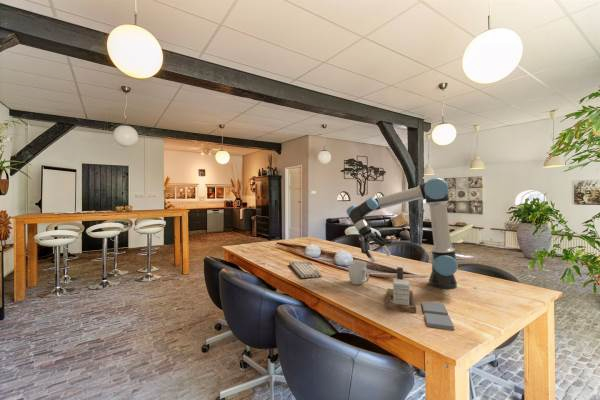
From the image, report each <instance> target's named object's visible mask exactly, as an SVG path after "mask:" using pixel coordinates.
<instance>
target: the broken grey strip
mask: <svg viewBox="0 0 600 400" xmlns="http://www.w3.org/2000/svg"><path fill="white" fill-rule="evenodd" d="M421 306H422V311H423V314H424V319H425V322H426V327H430V328H437V329H443V330H452V331H454V330H455V325H454V323H453V321H452V319H451V317H450V315H449V313H448V310H447V308H446V306H445V304H444V303H443V302H442V303H439V302H432V301H423V300H422V301H421Z"/></svg>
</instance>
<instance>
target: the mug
mask: <svg viewBox="0 0 600 400" xmlns="http://www.w3.org/2000/svg"><path fill="white" fill-rule="evenodd" d="M347 265H348V266H347V269H348V271H347V273H348V276H349V277H348V278H349V279H350V283H352V284H353V285H355V286H360V285H361V286H362V285H363V284H364V283H367V282H369V280H370V273H369V270H368V269H367V262H366V261H364V260H357V259H356V260H354V259H353V260H349V261H348V264H347ZM365 279H366V280H365Z"/></svg>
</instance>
